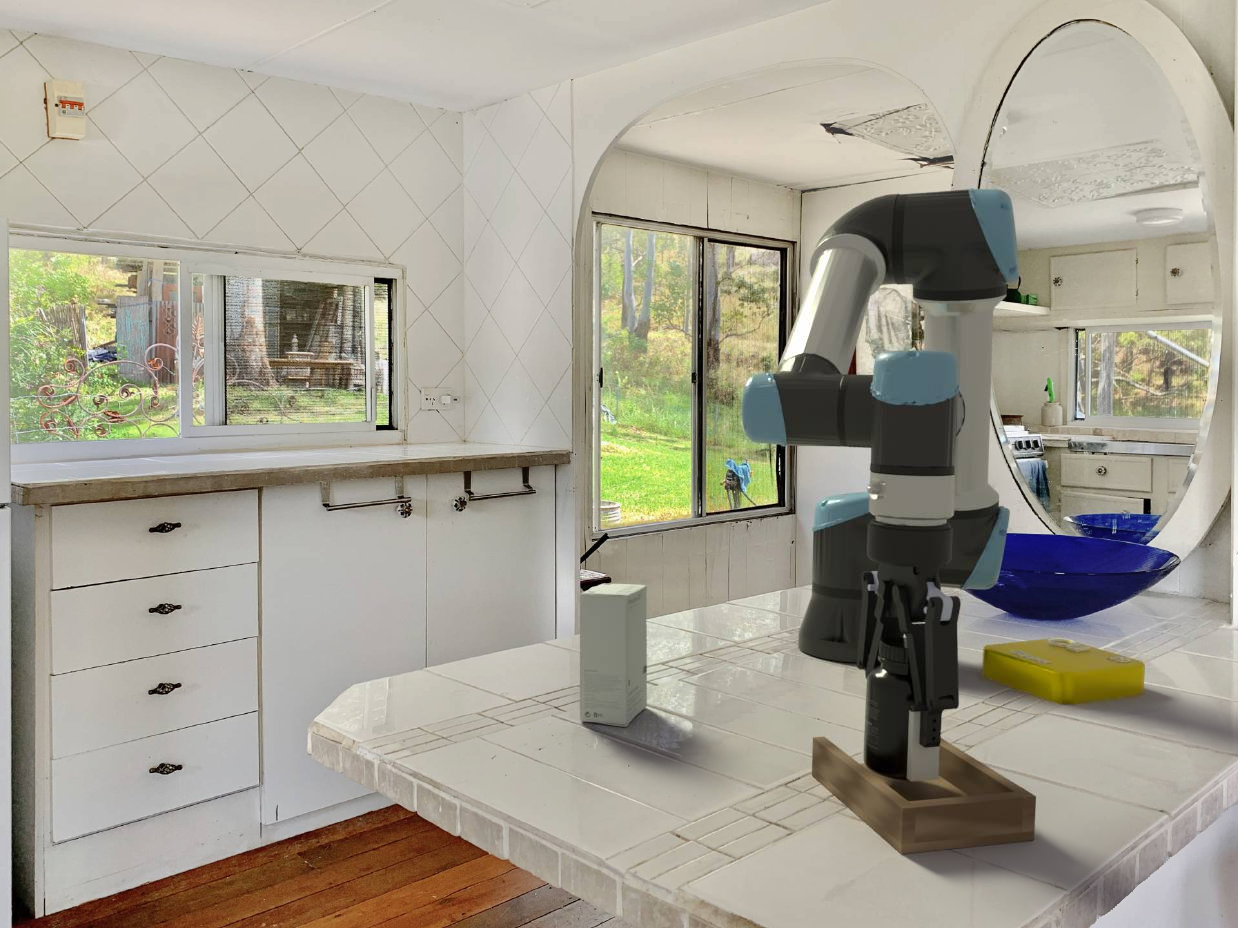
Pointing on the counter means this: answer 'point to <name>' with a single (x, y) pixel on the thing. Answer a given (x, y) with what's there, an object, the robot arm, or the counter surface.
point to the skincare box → (613, 653)
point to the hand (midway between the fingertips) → (901, 763)
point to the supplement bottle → (888, 711)
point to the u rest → (930, 801)
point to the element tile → (1063, 670)
